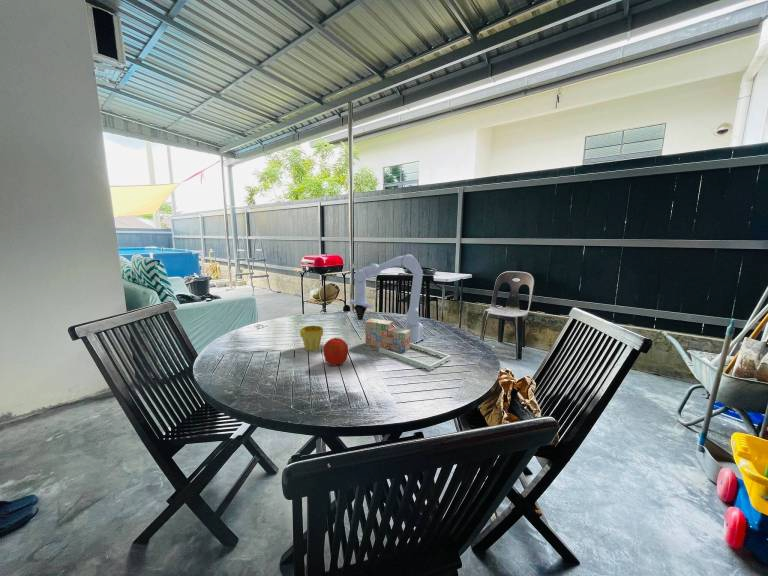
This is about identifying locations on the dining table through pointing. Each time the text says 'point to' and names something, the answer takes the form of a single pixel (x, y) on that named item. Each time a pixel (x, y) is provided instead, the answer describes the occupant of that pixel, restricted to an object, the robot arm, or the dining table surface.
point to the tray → (416, 360)
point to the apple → (335, 351)
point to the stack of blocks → (386, 335)
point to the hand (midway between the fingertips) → (360, 319)
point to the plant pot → (311, 336)
